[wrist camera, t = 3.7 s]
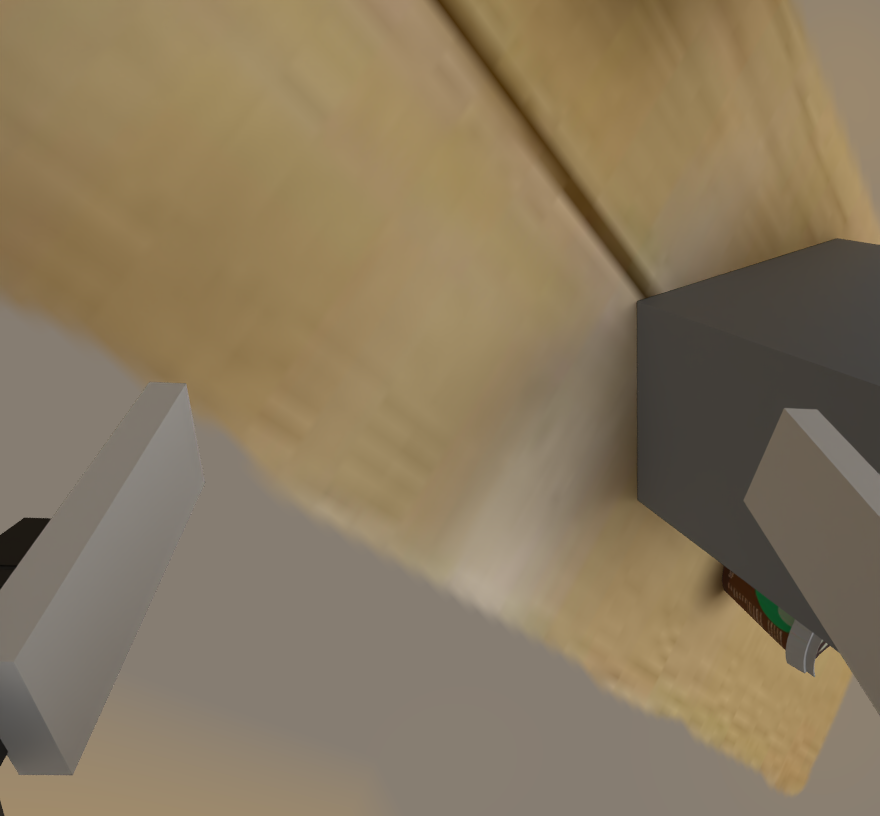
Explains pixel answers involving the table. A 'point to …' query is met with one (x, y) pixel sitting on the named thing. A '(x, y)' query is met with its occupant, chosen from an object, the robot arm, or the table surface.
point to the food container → (776, 623)
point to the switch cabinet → (753, 393)
